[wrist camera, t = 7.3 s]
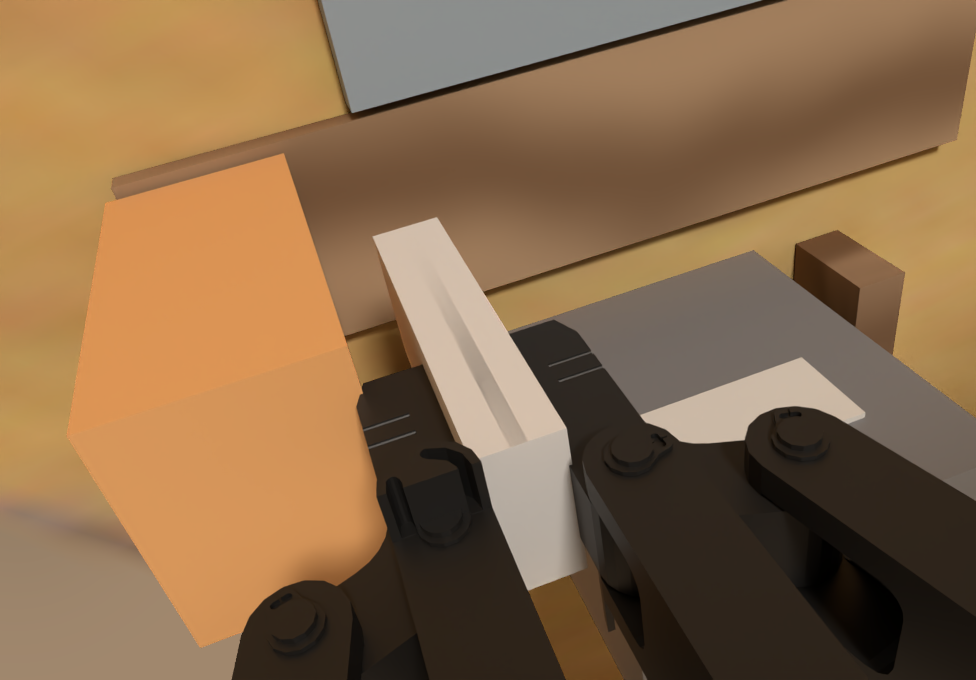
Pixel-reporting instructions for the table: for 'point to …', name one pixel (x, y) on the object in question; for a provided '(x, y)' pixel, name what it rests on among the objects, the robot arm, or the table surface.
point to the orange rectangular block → (223, 397)
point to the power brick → (758, 377)
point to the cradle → (631, 147)
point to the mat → (476, 37)
